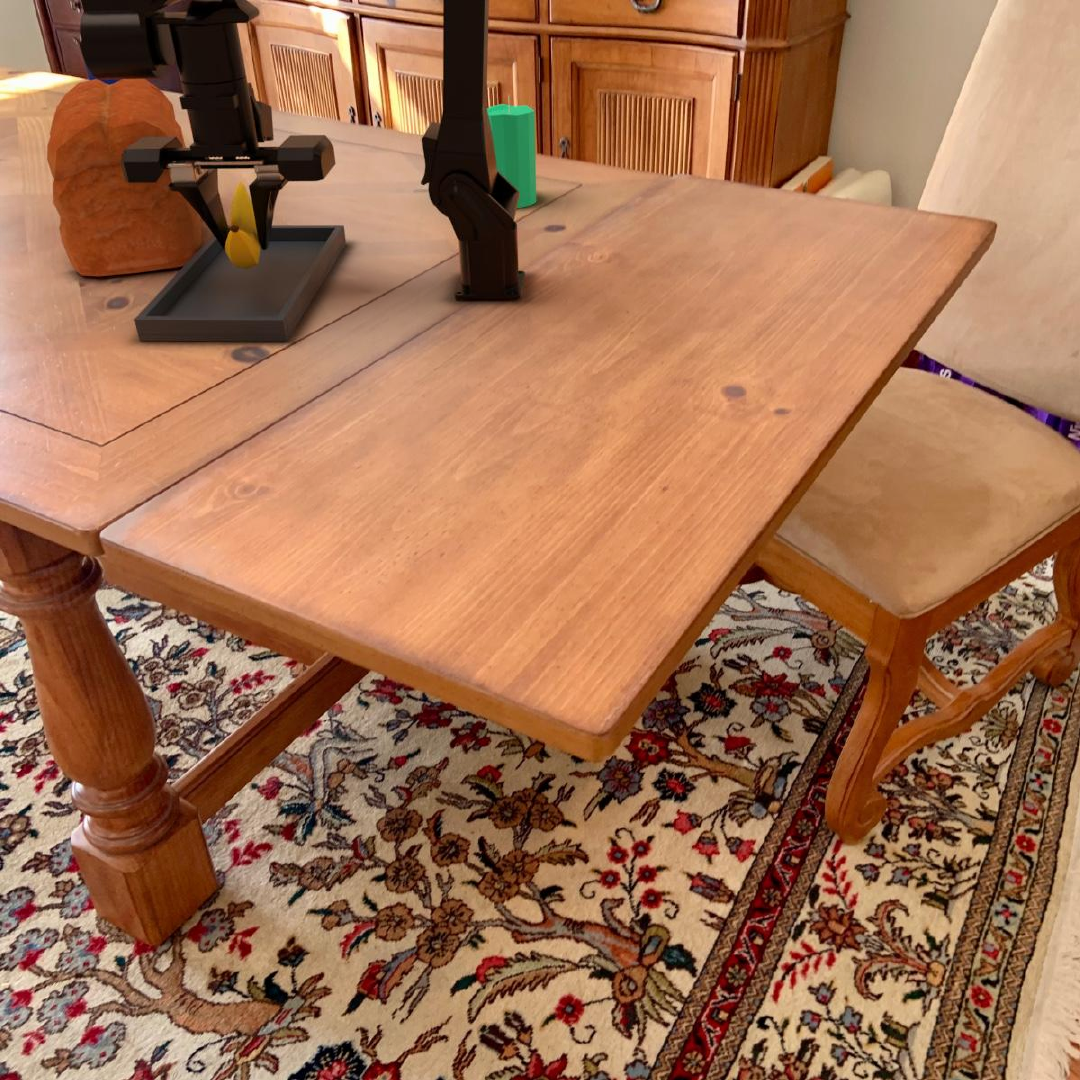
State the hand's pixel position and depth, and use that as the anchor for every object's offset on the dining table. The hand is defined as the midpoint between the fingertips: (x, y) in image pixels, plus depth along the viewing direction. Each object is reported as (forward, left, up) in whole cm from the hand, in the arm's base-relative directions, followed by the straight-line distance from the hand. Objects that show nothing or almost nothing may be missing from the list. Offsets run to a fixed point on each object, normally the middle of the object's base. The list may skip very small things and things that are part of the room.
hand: (246, 248), depth 100 cm
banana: (0, 0, -1) cm, 1 cm away
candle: (+28, -24, -4) cm, 37 cm away
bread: (+16, +18, -4) cm, 24 cm away
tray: (0, 0, -4) cm, 4 cm away
